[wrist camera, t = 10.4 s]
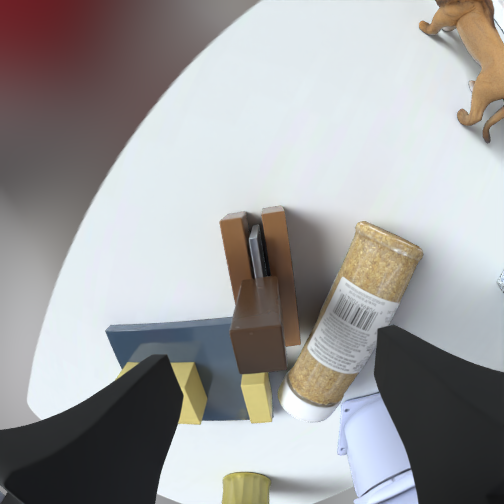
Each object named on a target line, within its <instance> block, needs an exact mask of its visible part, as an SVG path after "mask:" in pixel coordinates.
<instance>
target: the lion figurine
mask: <svg viewBox="0 0 504 504" xmlns="http://www.w3.org/2000/svg"><path fill="white" fill-rule="evenodd" d="M435 1H436V2H437V5H438V6H439V7H440V8H439V9H438V11H437V12H436V14H435V15H434V17H433V20H432V23H431V24H429V23H427V22H425V21H421V22H420V23H419V28H420V29H421V30H422V31H423V32H425V33H426V34H429V35H436V34H437V33H438V32H439V31H440V30H441V29H443V30H444V31H452V30H454V29H456V28H457V31H458V33H459V35H460V37H461V40H462V42H463V44H464V45H465V47H466V49H467V50H468V52H469V54H470V55H471V56H472V58H473V59H474V60H475V61H476V62H477V63H478V64H479V65H480V66H481V67H482V70H481V72H480V74H479V75H478V77H477V79H476V81H472V80H471V81H469V87H470V90H471V91H472V100H471V110H470V113H469V114H468V112H467V111H465V110H464V109H460V110H459V111H458V113H457V117H458V120H459V122H460V123H461V124H463V125H466V126H471V125H473V124H475V123H477V122H479V121H481V120H482V116H483V112H484V110H485V109H486V107H487V106H488V105H489V104H490V103H491V102H493V101H496V100H500V99H503V101H504V43H503V42H502V40H501V38H500V36H499V34H498V31H497V29H496V27H495V24H494V6H493V2H492V0H435ZM503 118H504V106H503V107H502V108H501V109H499V110H498V111H497V112H496V113H495V114H494V115H493V116H492V117H490V118H489V120H488V121H487V122H486V123H485V125H484V128H483V138H484V140H485V142H486V143H490V141H491V140H490V134H489V129H490V127H491V126H492V125H494V124H495V123H497V122H498V121H500V120H501V119H503Z"/></svg>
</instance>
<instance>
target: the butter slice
mask: <svg viewBox="0 0 504 504" xmlns="http://www.w3.org/2000/svg"><path fill="white" fill-rule="evenodd" d="M241 388H242V392H243V396H244V399H245V403H246V407H247V410H248V414H249V417H250V421H251V423H265V422H272V392H271V386H270V381H269V375H268V372H266V373H255V374H244V375H242V381H241Z"/></svg>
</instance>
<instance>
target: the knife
mask: <svg viewBox="0 0 504 504" xmlns="http://www.w3.org/2000/svg"><path fill="white" fill-rule="evenodd" d="M249 244H250V250H251V256H252V261H253V267H254V273H255V278H254V279H247V280H242V282H241V286H240V290H239V294H238V298H237V302H236V306H235V310H234V314H233V318H232V322H231V326H230V330H229V334H230V339H231V343H232V347H233V351H234V355H235V359H236V363H237V367H238V371H239V373H240V374H241V375H244V374H255V373H266V372H275V371H283V370H287V368H288V365H287V354H286V344H285V334H284V324H283V314H282V306H281V299H280V291H279V284H278V277H277V276H268V277H267V271H266V265H265V259H264V252H263V246H262V240H261V233H260V227H259V225H253V227H252V230H251V233H250V237H249Z"/></svg>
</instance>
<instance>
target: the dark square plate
mask: <svg viewBox="0 0 504 504" xmlns="http://www.w3.org/2000/svg"><path fill="white" fill-rule="evenodd" d="M232 318H233V317H227V318H217V319H207V320H195V321H183V322H169V323H152V324H132V325H110V326H109V327H108V328H107V329H106V331H105V332H106V334H107V337H108V339H109V341H110V344H111V346H112V348H113V351H114V353H115V355H116V357H117V360H118V362H119V364H120V366H121V368H122V369H123V368H124V367H125V365H126V364H127V362H141V361H143V360H144V359H146V358H147V357H149V356H151V355H152V354H167V355H168V358H169V360H170V363H181V362H194V363H195V365H196V368H197V371H198V374H199V377H200V380H201V382H202V385H203V388H204V391H205V393H206V396H207V403H206V406H205V410H204V414H203V418H202V421H226V420H250V417H249V414H248V410H247V407H246V403H245V399H244V396H243V392H242V388H241V381H242V375H241V374H240V373H239V371H238V367H237V363H236V359H235V355H234V351H233V347H232V343H231V339H230V334H229V330H230V326H231V322H232ZM273 417H274V416H273V405H272V418H273Z"/></svg>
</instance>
